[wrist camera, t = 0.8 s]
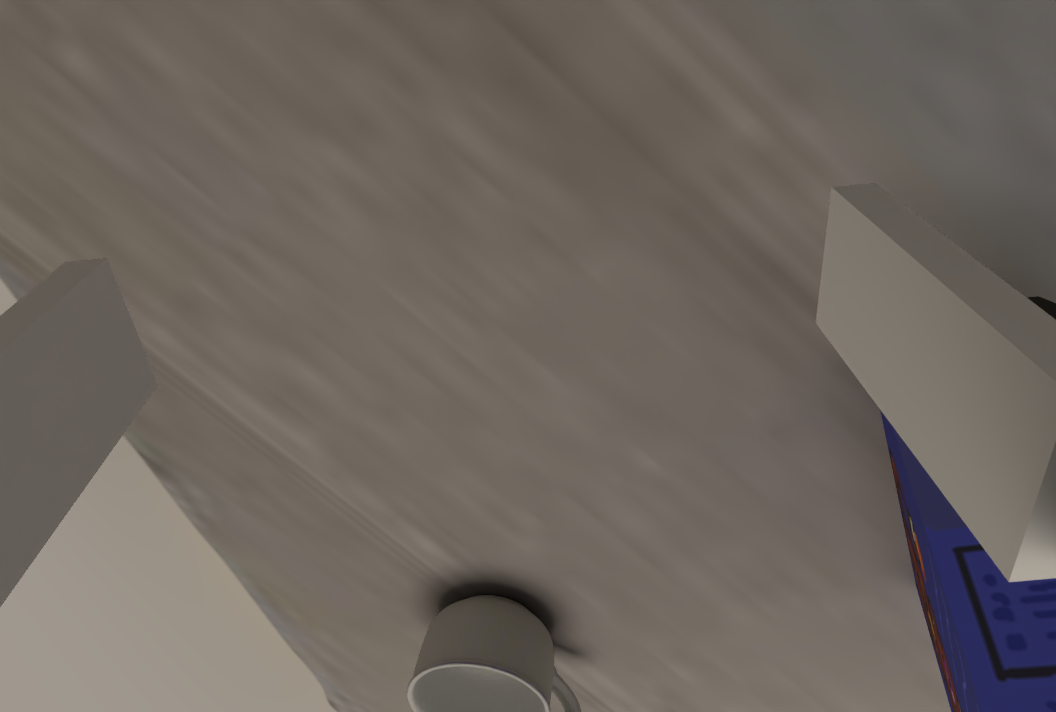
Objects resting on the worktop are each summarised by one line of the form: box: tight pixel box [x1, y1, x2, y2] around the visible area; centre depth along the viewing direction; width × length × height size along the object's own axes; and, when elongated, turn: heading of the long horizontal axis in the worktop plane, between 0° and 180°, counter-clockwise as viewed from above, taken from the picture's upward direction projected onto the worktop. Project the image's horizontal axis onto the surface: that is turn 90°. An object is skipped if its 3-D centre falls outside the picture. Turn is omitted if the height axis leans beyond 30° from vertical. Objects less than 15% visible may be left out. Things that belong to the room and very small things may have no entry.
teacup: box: [407, 595, 581, 712], centre depth 60 cm, size 14×11×8 cm
